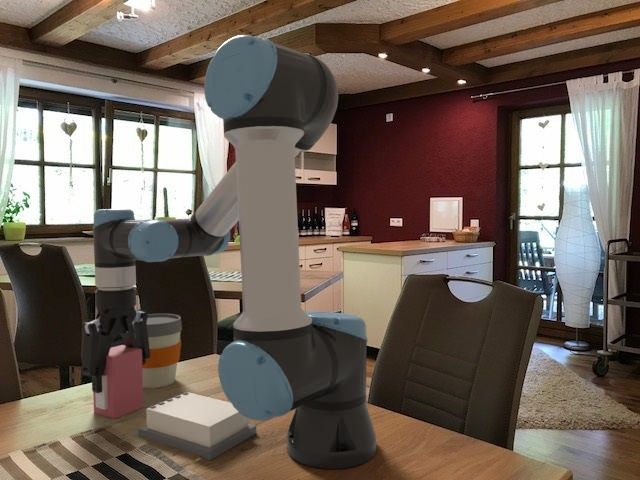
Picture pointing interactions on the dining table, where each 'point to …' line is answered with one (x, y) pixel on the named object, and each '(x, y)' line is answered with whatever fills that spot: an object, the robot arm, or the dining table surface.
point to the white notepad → (197, 425)
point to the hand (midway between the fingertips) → (118, 401)
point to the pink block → (123, 382)
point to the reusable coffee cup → (162, 350)
